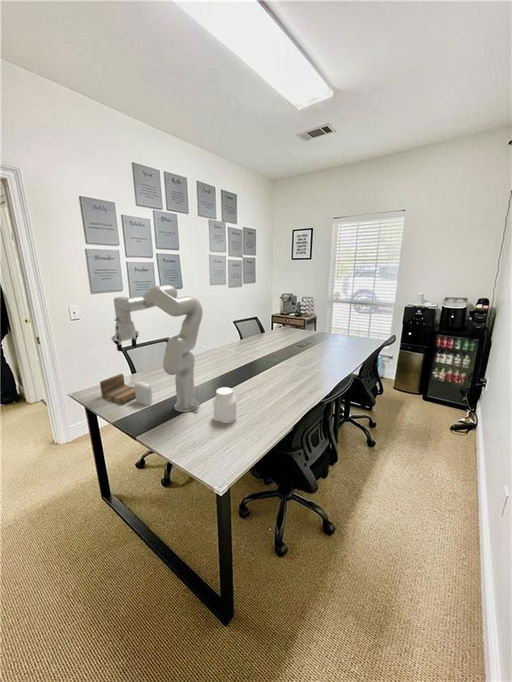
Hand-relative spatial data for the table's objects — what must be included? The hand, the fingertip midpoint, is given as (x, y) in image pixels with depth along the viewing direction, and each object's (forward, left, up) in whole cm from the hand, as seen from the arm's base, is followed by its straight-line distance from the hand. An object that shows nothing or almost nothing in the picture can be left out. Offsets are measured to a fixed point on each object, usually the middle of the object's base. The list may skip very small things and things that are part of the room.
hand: (127, 348), depth 160 cm
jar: (-64, -2, -28) cm, 70 cm away
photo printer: (-15, +5, -28) cm, 32 cm away
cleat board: (+1, +5, -28) cm, 28 cm away
